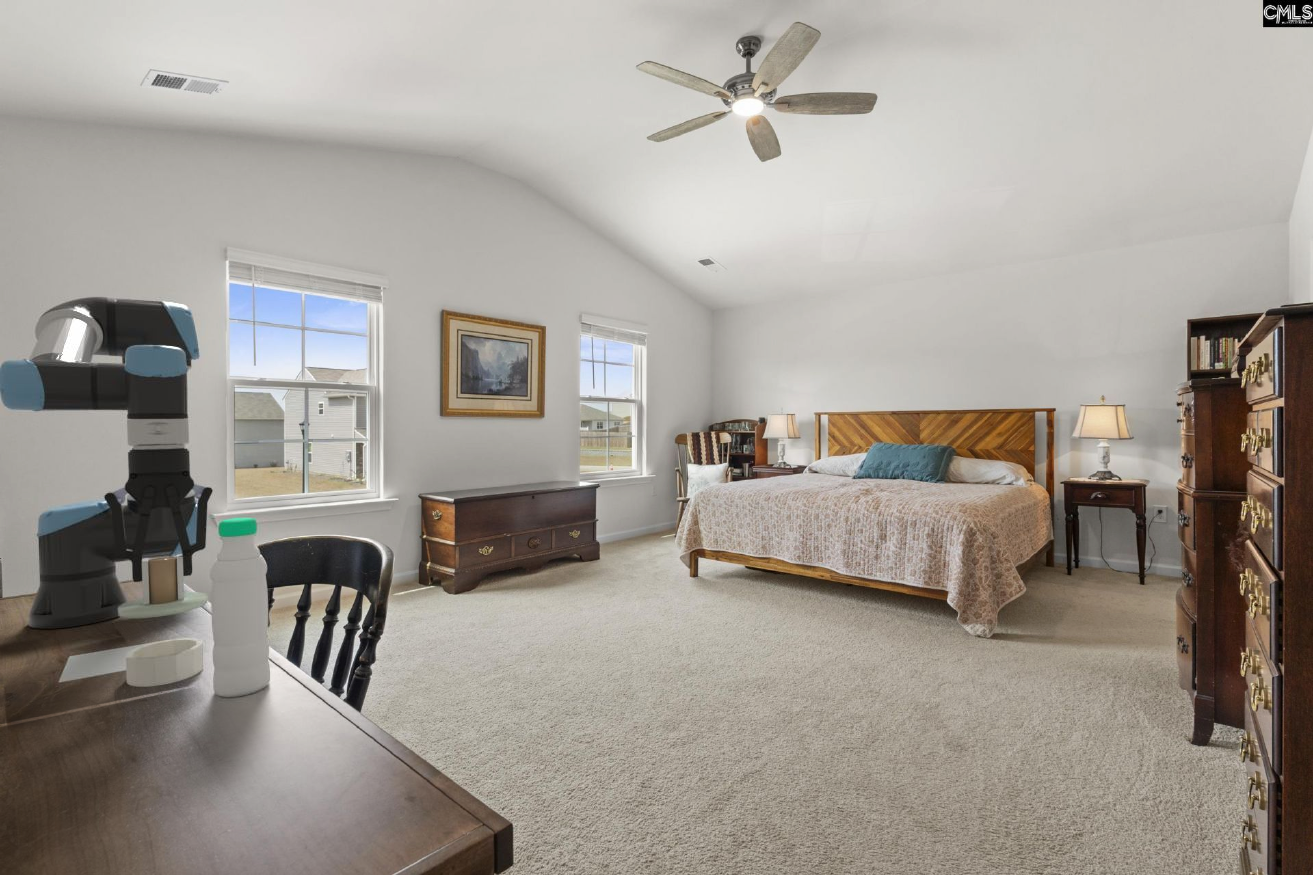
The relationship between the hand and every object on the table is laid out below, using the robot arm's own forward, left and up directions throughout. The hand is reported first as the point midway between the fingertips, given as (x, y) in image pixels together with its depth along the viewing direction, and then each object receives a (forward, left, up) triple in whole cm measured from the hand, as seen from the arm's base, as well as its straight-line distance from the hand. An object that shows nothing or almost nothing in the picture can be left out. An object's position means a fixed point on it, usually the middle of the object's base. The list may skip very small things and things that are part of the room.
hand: (163, 599), depth 102 cm
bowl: (0, 0, -12) cm, 12 cm away
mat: (-13, -6, -12) cm, 19 cm away
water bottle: (+13, +9, -12) cm, 20 cm away
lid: (0, 0, -1) cm, 1 cm away
